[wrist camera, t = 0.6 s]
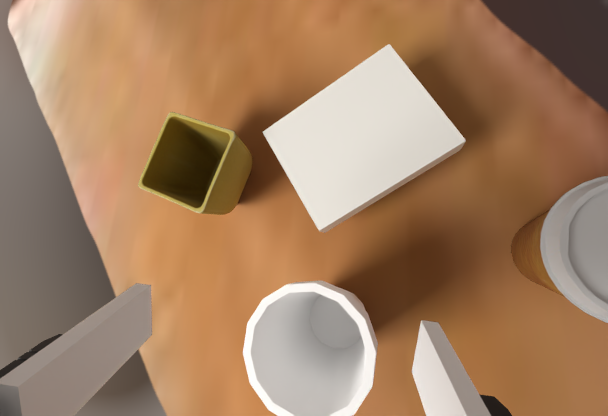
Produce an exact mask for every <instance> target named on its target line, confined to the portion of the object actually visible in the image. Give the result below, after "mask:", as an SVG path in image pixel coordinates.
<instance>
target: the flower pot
mask: <svg viewBox="0 0 608 416" xmlns="http://www.w3.org/2000/svg"><path fill="white" fill-rule="evenodd" d="M251 169H252V155H251V153H250V151H249V150H248V148H247V147H246V146H245V144H244V143H243V142H242V141H241V139H240V138H239V137H238V136H237V135H236V133H235V132H234V131H232V130H229V129H225V128H222V127H219V126H216V125H212V124H209V123H206V122H203V121H200V120H197V119H193V118H190V117H187V116H184V115H181V114H178V113H174V112H170V113H169V115H168V116H167V118H166V120H165V122H164V124H163V126H162V129H161V131H160V133H159V136H158V138H157V140H156V142H155V145H154V147H153V149H152V152H151V154H150V157H149V159H148V161H147V164H146V166H145V168H144V170H143V172H142V175H141V177H140V181H139V184H138V186H139V187H140V188H141V189H144V190H146V191H148V192H151V193H153V194H155V195H158V196H160V197H163V198H165V199H167V200H170V201H172V202H174V203H176V204H179V205H181V206H183V207H185V208H187V209H189V210H192V211H194V212H197V213H202V214H217V215H223V214H227V213H229V212H231V211H232V210H233V209H234V208H235V206H236V205H237V203H238V201H239V199H240V196H241V194H242V191H243V189H244V186H245V184H246V182H247V179H248V177H249V175H250V172H251Z"/></svg>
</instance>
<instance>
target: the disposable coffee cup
mask: <svg viewBox="0 0 608 416" xmlns="http://www.w3.org/2000/svg"><path fill="white" fill-rule="evenodd" d="M511 253H512V257H513V261H514V263H515V265H516V266H517V268H518V269H519V271H520V272H521V273H522V274H523V275H524V276H526V277H527V278H528V279H530V280H531V281H533V282H535V283H538V284H540V285H542V286H544V287H546V288H548V289H550V290H552V291H554V292H556V293H558V294H560V295H562V296H564V297H566V298H567V299H568V300H569V301H570V302H571V303H573V304H574V305H576V306H577V307H578V308H580V309H581V310H582V311H584V312H586V313H587V314H589V315H591V316H593V317H595V318H598V319H600V320H602V321H604V322H606V323H608V176H604V177H599V178H596V179H593V180H590V181H587V182H584V183H582V184H580V185H578V186H576V187H575V188H573V189H571V190H570V191H568V192H567V193H565V194H564V195H563V196H562V197H561V198H560V199H559V200H558V201H557V202H556V203H555V204H554V205H553V206H552V208H551V209H550V210H549V211H547V212H546V213H544V214H542V215H541V216H539V217H538V218H536V219H534V220H533V221H531V222H530V223H528V224H526V225H525V226H523V227H522V228H521V229H520V230H519V231H518V232H517V233H516V235H515V237H514V239H513V242H512V246H511Z"/></svg>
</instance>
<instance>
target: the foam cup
mask: <svg viewBox="0 0 608 416" xmlns="http://www.w3.org/2000/svg"><path fill="white" fill-rule="evenodd" d="M377 346H378V342H377V339H376V336H375V333H374V330H373V327H372V324H371V321H370V318H369V315H368V313H367V312H366V311H365V308H364V305H363V303H362V302H361V301H360V300H359V299H358V298H357V297H356V295H355V294H354V293H351V292H349V291H347V290H344V289H342V288H339V287H336V286H334V285H332V284H329V283H327V282H325V281H307V282H295V283H291V284H287V285H285V286H283V287H282V288H280V289H278V290H277V291H275V292H274V293H272V294H270V295H269V296H267V297H265V298H264V299H263V300H262V301H261V303H260V304H259V306H258V307H257V309H256V311H255V312H254V314H253V315H252V317H251V318H250V320H249V321H248V323H247V330H246V336H245V342H244V349H243V355H244V360H245V364H246V368H247V373H248V377H249V381H250V384H251V386H252V387H253V389H254V390H255V391H256V393H257V394H258V396H259V397H260V398H261V400H262V401H263V403H264V404H265V406H266V407H267V408H268V410H269V411H271V412H273V413H274V414H276V415H278V416H352V415H354V414H355V413H356V411H357V409H358V408H359V406H360V405H361V403H362V402H363V400H364V399H365V397H366V396H367V394H368V393H369V391H370V390H371V388H372V386H373V380H374V374H375V365H376V355H377Z"/></svg>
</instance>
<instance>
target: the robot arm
mask: <svg viewBox="0 0 608 416" xmlns="http://www.w3.org/2000/svg"><path fill="white" fill-rule="evenodd" d="M151 335H152V311H151V285H145V284H138V283H136V284H135V285H133V286H132V287H130V288H129V289H128V290H126V291H125V292H123V293H122V294H120V295H119V296H118V297H116V298H115V299H113V300H112V301H110V302H109V303H108V304H106V305H105V306H103V307H102V308H100V309H99V310H98V311H96V312H95V313H93V314H92V315H90V316H89V317H88V318H86V319H85V320H83V321H82V322H80V323H79V324H78V325H76V326H75V327H74V328H72V329H70V330H69V331H68V332H66V333H65V334H58V335H56V336H54V337H52V338H49V339H47V340H45V341H43V342H41V343H40V344H38V345H37V346H35V347H34V348H33V349H31V350H30V351H29V352H27V353H25V354H24V355H22V356H21V357H19V358H18V360H15V361H13V362H12V363H10V364H9V365H7V366H6V367H4V368H3V369H1V370H0V416H74V415H75V414H76V413H77V412H78V411H79V410H80V408H82V407H83V406H84V404H86V403H87V401H88V400H89V399H90V398H91V397H92V396H93V395H94V394H95V393H96V392H97V391H98V390H99V389H100V388H101V387H102V386H103V385H104V384H105V383H106V382H107V381H108V380H109V378H110V377H112V376H113V375H114V373H115V372H116V371H117V370H118V369H119V368H120V367H121V366H122V365H123V364H124V363H125V362H126V361H127V360H128V359H129V358H130V357H131V356H132V355H133V354H134V353H135V352H136V351H137V350H138V349H139V348H140V347H141V345H142V344H143V343H144V342H145V341H146V340H147V339H148V338H149V337H150V336H151ZM412 374H413V377H414V380H415V383H416V386H417V389H418V392H419V395H420V398H421V401H422V404H423V407H424V410H425V413H426V416H512V415H511V414H510V412H509V410H508V409H507V408H506V407H505V406H504V405H503V404H501V403H500V402H499V401H498V400H497V399H496V398H495V397H493V396H486V395H479V393H478V392H477V390H476V388H475V386H474V385H473V383H472V381H471V379H470V377H469V376H468V374H467V372H466V370H465V369H464V367H463V365H462V363H461V362H460V360H459V358H458V356H457V355H456V353H455V351H454V349H453V348H452V346H451V344H450V342H449V341H448V339H447V337H446V335H445V333H444V332H443V330H442V328H441V326H440V325H439V323H438V322H431V321H423V320H421V324H420V330H419V335H418V341H417V346H416V352H415V357H414V363H413V368H412Z"/></svg>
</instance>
